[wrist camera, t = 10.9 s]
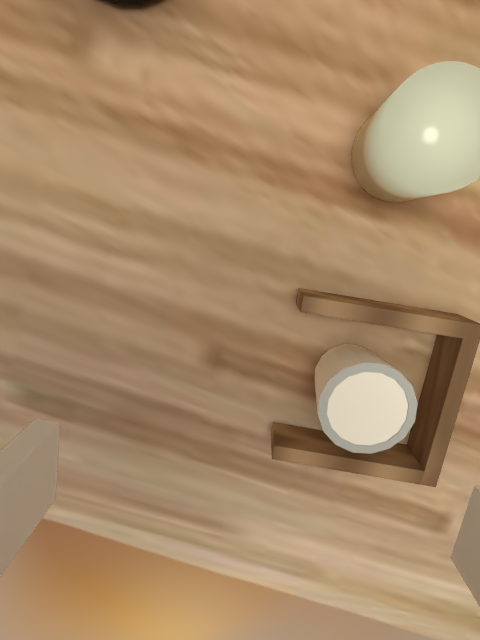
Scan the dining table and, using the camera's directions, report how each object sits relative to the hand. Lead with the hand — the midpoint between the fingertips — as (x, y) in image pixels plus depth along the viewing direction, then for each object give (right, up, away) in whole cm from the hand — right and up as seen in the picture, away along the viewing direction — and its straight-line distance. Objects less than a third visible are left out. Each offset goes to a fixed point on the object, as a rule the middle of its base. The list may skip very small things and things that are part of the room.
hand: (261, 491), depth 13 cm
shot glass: (+9, +1, +22) cm, 24 cm away
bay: (+9, +1, +22) cm, 24 cm away
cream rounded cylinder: (+11, +18, +18) cm, 28 cm away
